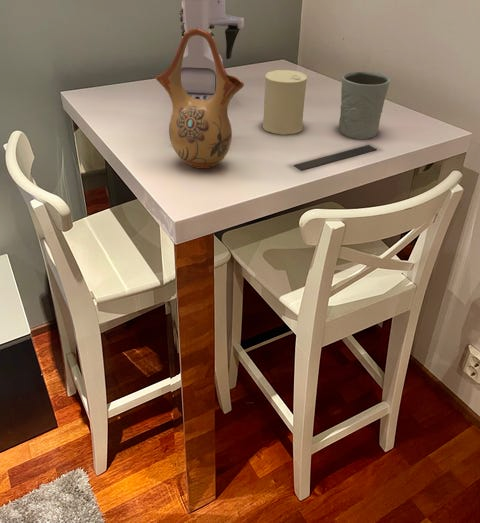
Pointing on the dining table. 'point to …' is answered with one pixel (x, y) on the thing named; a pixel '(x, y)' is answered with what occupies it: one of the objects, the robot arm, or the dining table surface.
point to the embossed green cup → (362, 103)
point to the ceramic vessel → (199, 111)
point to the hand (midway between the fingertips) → (213, 56)
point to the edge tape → (334, 157)
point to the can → (284, 101)
